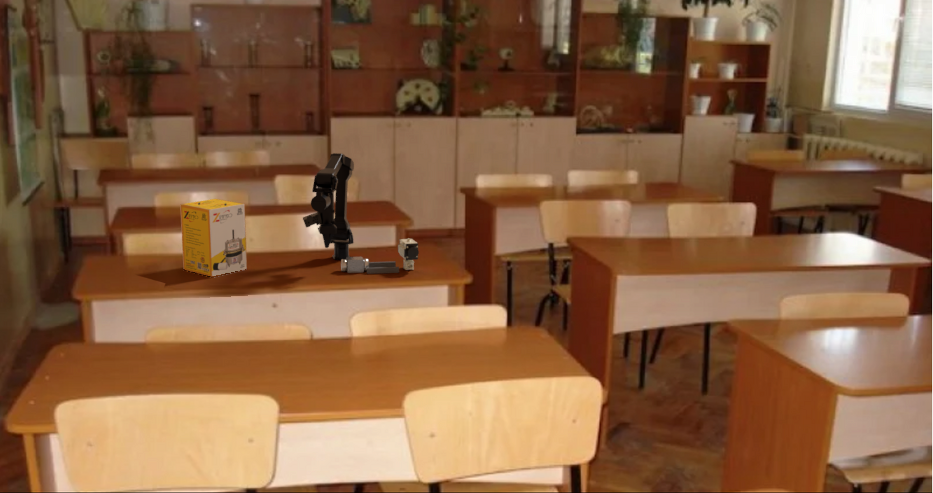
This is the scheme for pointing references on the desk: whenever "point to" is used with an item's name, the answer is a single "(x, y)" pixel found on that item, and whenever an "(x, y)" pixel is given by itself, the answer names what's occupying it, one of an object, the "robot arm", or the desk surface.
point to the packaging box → (213, 236)
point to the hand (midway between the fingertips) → (326, 247)
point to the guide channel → (382, 267)
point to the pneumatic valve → (408, 252)
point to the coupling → (354, 264)
